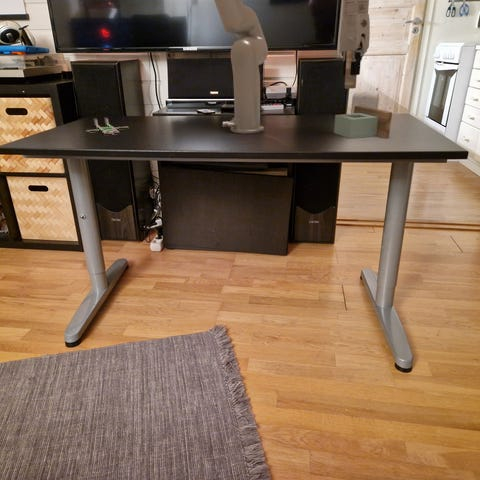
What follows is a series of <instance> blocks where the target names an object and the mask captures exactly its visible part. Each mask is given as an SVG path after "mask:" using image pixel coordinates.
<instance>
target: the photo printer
mask: <svg viewBox="0 0 480 480" xmlns="http://www.w3.org/2000/svg"><path fill="white" fill-rule="evenodd" d="M379 100H380V95H379V92H377V91H374V90H367V89H363V90H356V91H354V92H353V95H352V100H351V107H350V108H351V109H350V114H354V108H355V106H364V107H369V108H374V109H378V108H379ZM378 110H379V109H378Z"/></svg>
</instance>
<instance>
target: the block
mask: <svg viewBox="0 0 480 480" xmlns="http://www.w3.org/2000/svg"><path fill="white" fill-rule="evenodd" d="M334 115H335V118H334V126H333V127H334V128H333V134H336V135H339V136H341V137H345V138H347V139H357V138H360V139H361V138H367V137H377V136H376V132H377V124H378V117H375V116H371V115H367V114H363V113H355V114H351V113H347V114H346V113H344V114H334Z"/></svg>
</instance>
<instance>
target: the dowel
mask: <svg viewBox="0 0 480 480" xmlns="http://www.w3.org/2000/svg"><path fill="white" fill-rule="evenodd" d="M357 50H359V48H358V49H357ZM356 55H357V53H356ZM351 62H353V60H352V51H349V50H347V58H346V73H345V75H344V89H347V90H348V89H351V90H352V89H353V90H354V89H356V88H357V78H358V77H357V76H358V75H350V70H351Z"/></svg>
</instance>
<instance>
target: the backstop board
mask: <svg viewBox="0 0 480 480" xmlns="http://www.w3.org/2000/svg"><path fill="white" fill-rule="evenodd" d="M355 113H363V114H367V115H371V116H375V117H378V124H377V132H376V136H375V137H378V138H382V139H388V138H390V132H391V124H392V117H393V112H391V111H387V110H382V109H374V108H369V107H364V106H355V108H354V114H355Z"/></svg>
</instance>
